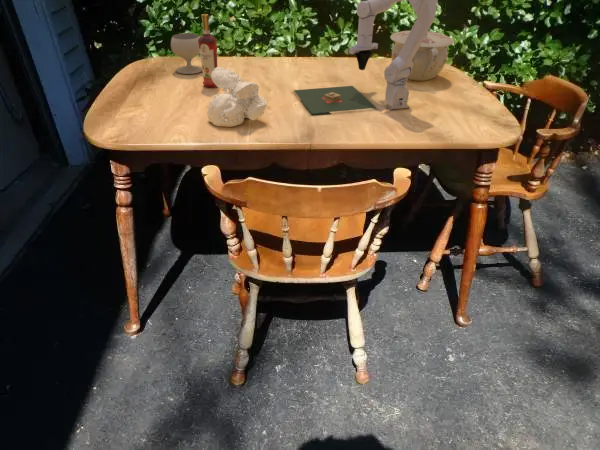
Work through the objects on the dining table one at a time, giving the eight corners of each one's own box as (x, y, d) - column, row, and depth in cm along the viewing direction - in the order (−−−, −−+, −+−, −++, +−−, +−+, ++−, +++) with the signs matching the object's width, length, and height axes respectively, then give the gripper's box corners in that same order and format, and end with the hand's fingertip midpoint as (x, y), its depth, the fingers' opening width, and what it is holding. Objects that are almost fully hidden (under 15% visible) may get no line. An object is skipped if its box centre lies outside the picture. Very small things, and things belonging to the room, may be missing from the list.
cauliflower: (185, 97, 162) (224, 57, 165) (213, 133, 178) (248, 96, 182) (219, 116, 152) (259, 73, 155) (245, 152, 168) (281, 113, 172)
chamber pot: (398, 64, 231) (404, 18, 219) (453, 74, 220) (463, 27, 208) (375, 79, 211) (381, 30, 200) (435, 90, 200) (444, 39, 188)
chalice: (211, 69, 218) (208, 35, 209) (190, 77, 208) (186, 41, 200) (188, 64, 224) (185, 31, 215) (167, 71, 214) (162, 37, 206)
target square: (342, 102, 185) (342, 101, 185) (326, 103, 183) (326, 103, 183) (337, 96, 190) (337, 96, 190) (321, 97, 189) (321, 97, 188)
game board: (376, 109, 181) (376, 107, 181) (311, 115, 175) (311, 113, 174) (352, 87, 201) (352, 85, 201) (293, 92, 195) (293, 90, 195)
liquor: (199, 87, 197) (192, 15, 181) (206, 82, 203) (200, 12, 187) (216, 89, 196) (210, 17, 180) (222, 83, 202) (217, 13, 186)
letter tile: (331, 96, 189) (332, 91, 188) (340, 100, 187) (340, 94, 185) (324, 99, 187) (324, 94, 185) (332, 102, 184) (332, 97, 183)
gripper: (370, 29, 190) (366, 63, 198) (344, 34, 182) (342, 70, 190) (383, 33, 186) (379, 67, 194) (357, 38, 178) (354, 74, 186)
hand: (361, 69), depth 192 cm, fingers closed
